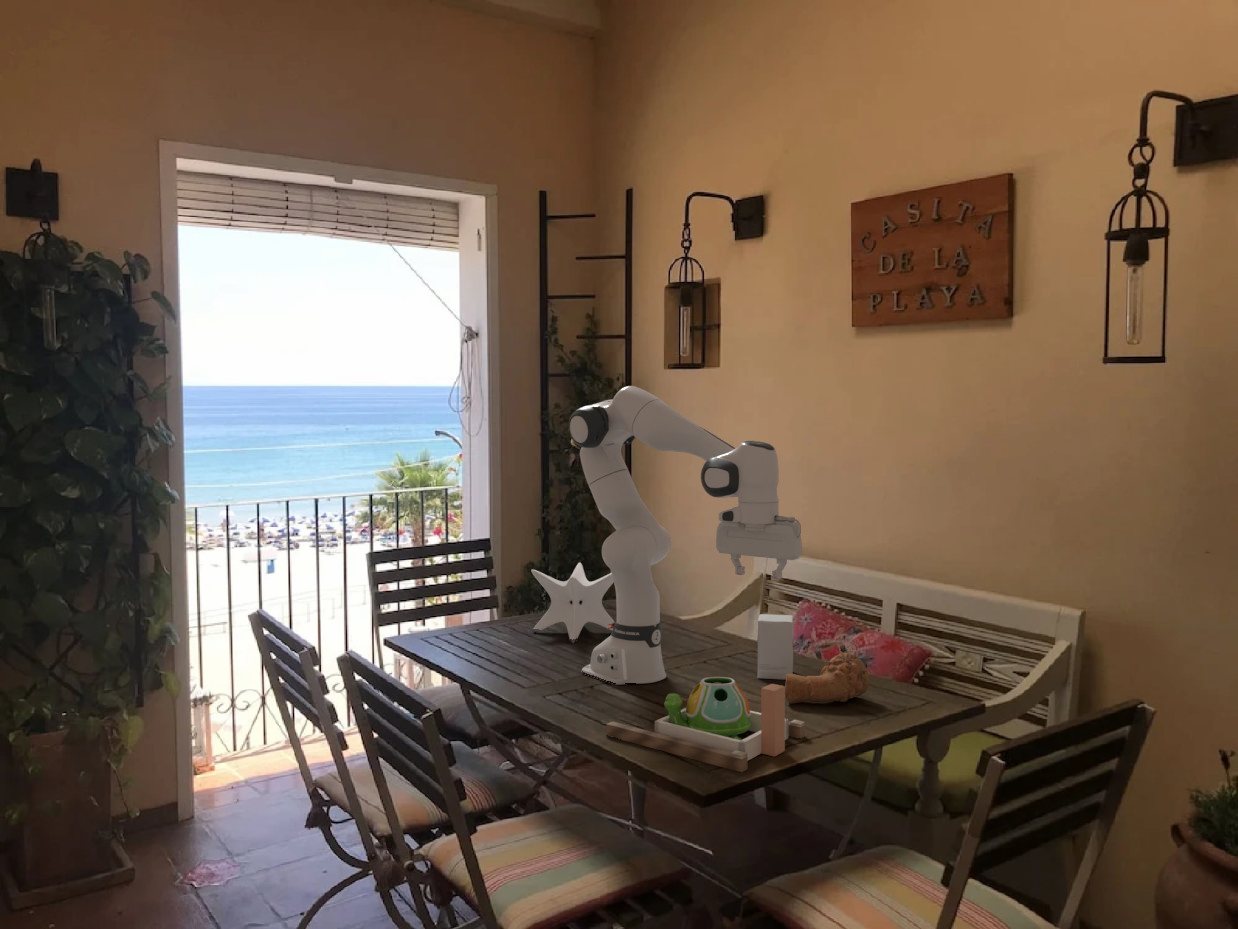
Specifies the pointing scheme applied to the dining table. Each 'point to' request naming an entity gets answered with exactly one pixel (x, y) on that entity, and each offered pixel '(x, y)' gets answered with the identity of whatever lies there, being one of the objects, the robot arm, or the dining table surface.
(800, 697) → the clay pipe
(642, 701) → the dining table surface
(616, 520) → the robot arm
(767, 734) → the sled
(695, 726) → the turtle holder
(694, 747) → the bay rails
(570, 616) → the starfish
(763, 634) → the supplement box
